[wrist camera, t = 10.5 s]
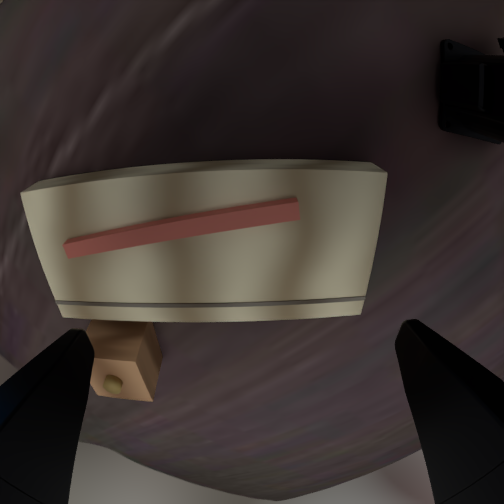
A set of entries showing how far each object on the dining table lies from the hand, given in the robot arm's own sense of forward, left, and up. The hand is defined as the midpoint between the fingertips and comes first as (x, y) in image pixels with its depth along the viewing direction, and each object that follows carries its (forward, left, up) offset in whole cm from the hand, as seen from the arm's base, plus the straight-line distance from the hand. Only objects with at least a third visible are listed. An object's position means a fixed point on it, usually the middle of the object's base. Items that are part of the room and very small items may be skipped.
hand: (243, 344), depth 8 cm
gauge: (+10, +12, -12) cm, 20 cm away
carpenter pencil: (+4, +1, -10) cm, 10 cm away
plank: (+3, +3, -12) cm, 13 cm away
